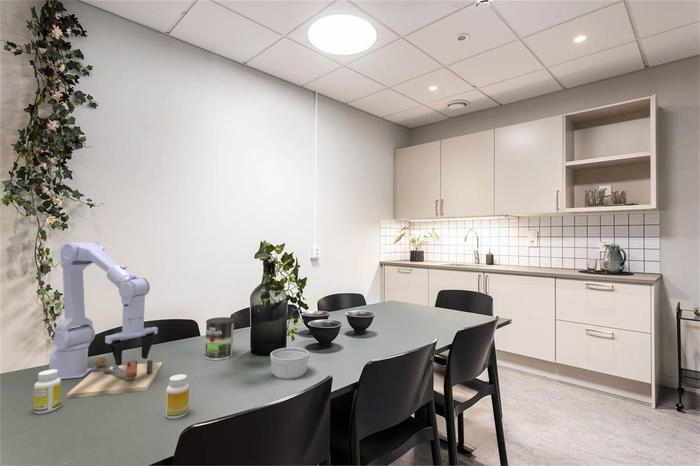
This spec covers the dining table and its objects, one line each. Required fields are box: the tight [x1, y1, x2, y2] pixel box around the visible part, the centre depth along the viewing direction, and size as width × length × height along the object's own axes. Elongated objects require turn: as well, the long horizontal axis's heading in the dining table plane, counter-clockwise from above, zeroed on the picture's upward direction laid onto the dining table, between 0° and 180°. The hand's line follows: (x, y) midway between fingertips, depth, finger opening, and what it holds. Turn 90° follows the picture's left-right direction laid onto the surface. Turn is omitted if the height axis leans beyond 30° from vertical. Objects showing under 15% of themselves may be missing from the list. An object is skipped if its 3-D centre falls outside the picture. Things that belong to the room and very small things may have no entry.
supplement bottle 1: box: [32, 369, 62, 415], centre depth 92 cm, size 5×5×10 cm
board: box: [66, 356, 163, 399], centre depth 112 cm, size 20×22×5 cm
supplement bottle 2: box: [164, 373, 190, 420], centre depth 91 cm, size 5×5×10 cm
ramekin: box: [269, 347, 310, 380], centre depth 120 cm, size 13×13×7 cm
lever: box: [104, 359, 138, 381], centre depth 112 cm, size 16×4×6 cm, turn 58°
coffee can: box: [204, 316, 235, 361], centre depth 137 cm, size 10×10×14 cm
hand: (131, 361), depth 109 cm, fingers open, 7 cm apart
